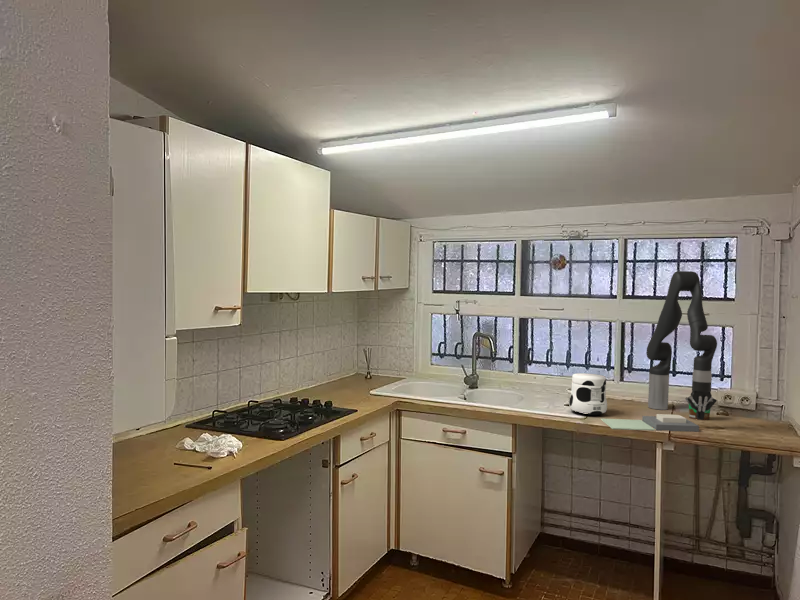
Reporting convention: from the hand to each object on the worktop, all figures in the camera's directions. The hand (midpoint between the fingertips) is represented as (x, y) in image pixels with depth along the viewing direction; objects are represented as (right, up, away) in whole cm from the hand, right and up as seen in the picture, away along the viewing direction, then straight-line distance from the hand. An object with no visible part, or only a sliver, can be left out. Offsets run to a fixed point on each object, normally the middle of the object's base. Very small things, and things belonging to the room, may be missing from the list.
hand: (700, 419), depth 261 cm
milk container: (-42, -2, +23) cm, 48 cm away
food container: (+10, -3, +17) cm, 20 cm away
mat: (-32, -3, +1) cm, 32 cm away
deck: (-13, -3, +1) cm, 13 cm away
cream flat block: (-12, 0, 0) cm, 12 cm away
